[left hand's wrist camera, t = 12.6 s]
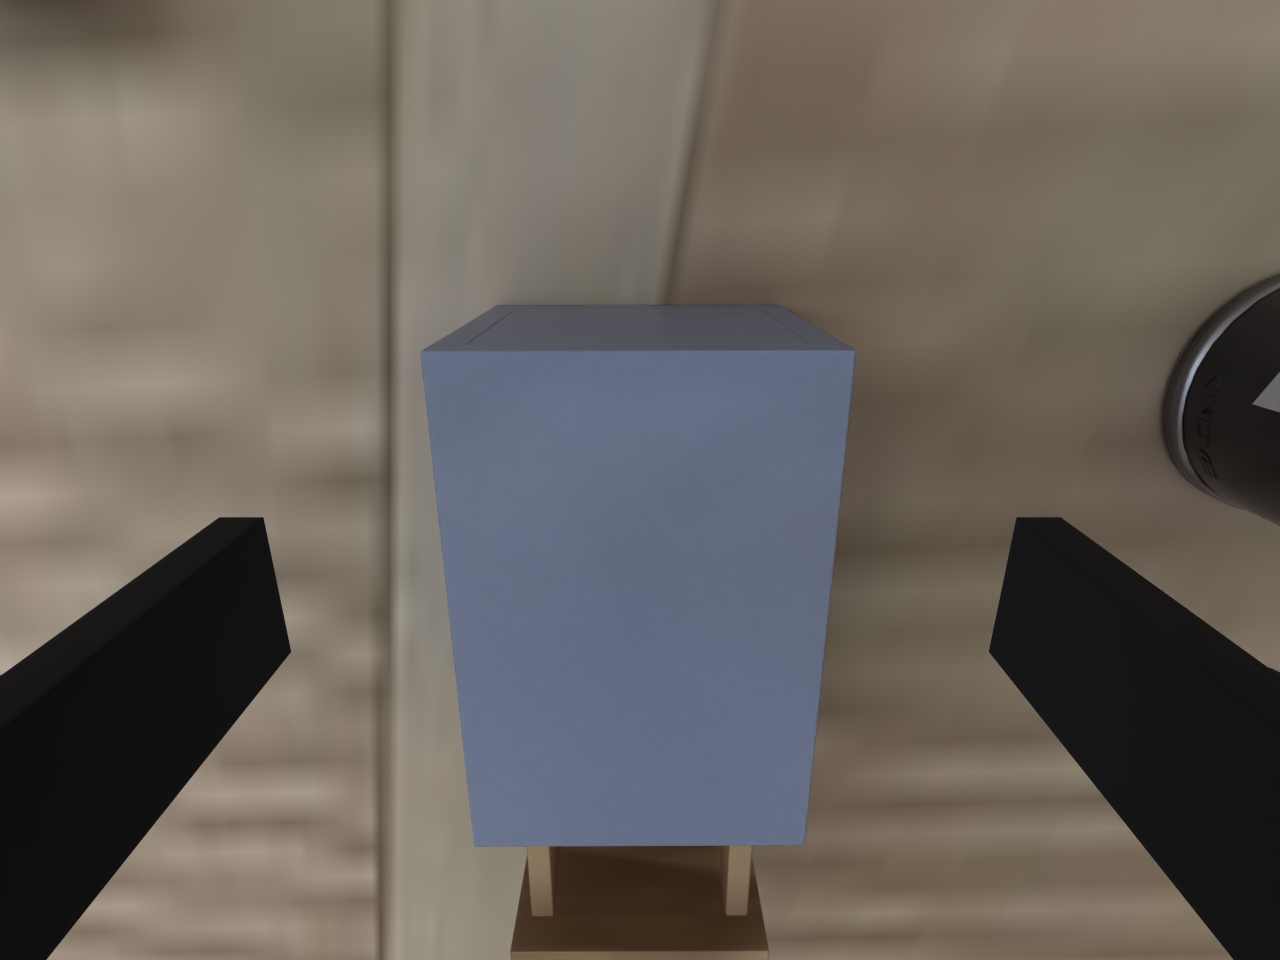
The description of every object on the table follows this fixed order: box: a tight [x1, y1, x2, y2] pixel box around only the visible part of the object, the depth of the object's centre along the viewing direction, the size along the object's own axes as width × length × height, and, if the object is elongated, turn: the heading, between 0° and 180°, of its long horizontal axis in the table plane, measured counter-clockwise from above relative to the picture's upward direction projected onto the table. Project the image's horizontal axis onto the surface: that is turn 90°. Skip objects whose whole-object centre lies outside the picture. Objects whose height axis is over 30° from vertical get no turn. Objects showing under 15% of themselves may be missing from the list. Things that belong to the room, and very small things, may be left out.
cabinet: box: [421, 305, 856, 846], centre depth 24 cm, size 16×11×10 cm
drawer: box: [510, 846, 769, 960], centre depth 28 cm, size 20×10×8 cm, turn 0°
